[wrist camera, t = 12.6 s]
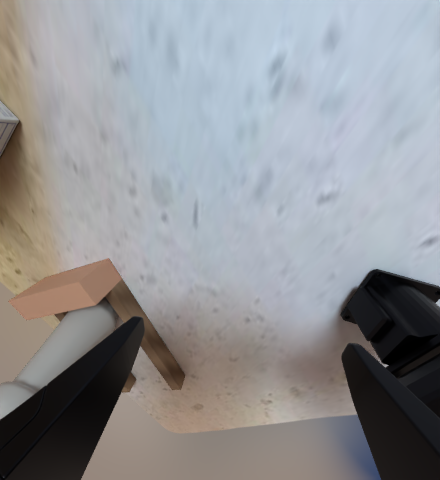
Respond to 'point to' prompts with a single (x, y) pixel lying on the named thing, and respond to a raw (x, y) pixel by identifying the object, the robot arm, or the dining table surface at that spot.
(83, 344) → the salt shaker
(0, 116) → the medicine box
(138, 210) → the dining table surface
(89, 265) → the end stop
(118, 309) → the guide rails
